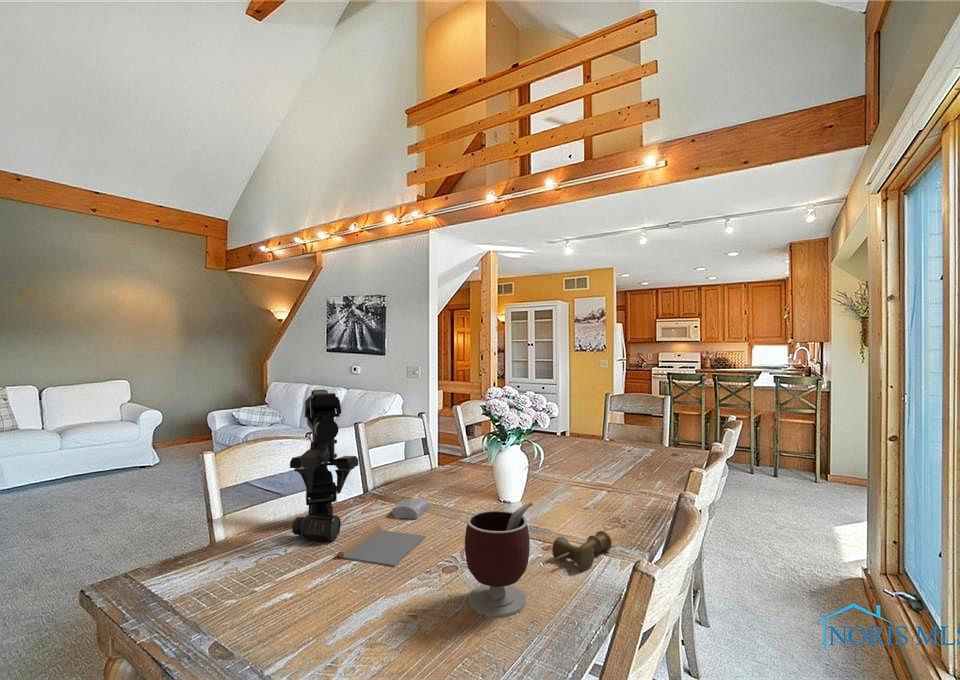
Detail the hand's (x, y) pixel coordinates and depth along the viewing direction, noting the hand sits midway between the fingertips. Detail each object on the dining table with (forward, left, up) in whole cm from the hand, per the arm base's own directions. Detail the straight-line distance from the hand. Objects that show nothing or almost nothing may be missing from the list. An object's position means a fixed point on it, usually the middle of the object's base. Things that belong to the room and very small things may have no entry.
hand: (324, 493), depth 135 cm
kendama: (+71, +9, -13) cm, 73 cm away
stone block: (+14, +27, -13) cm, 33 cm away
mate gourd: (+56, -16, -13) cm, 60 cm away
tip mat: (+19, 0, -13) cm, 23 cm away
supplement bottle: (+4, 0, -9) cm, 10 cm away
